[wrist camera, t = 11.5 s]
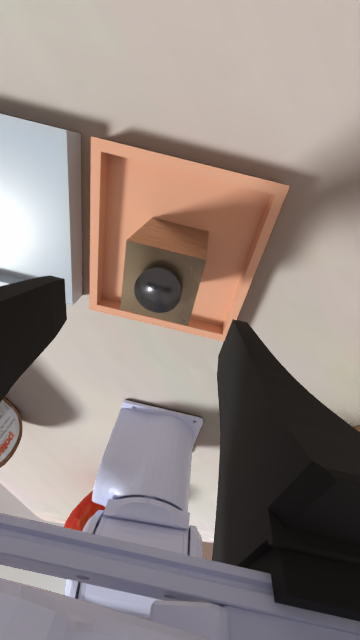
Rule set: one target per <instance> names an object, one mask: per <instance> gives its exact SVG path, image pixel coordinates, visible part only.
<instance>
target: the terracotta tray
mask: <svg viewBox="0 0 360 640" xmlns="http://www.w3.org/2000/svg"><path fill="white" fill-rule="evenodd" d="M289 187H290V186H288V185H285V184H282V183H278V182H274V181H270V180H266V179H262V178H257V177H253V176H249V175H245V174H241V173H237V172H233V171H229V170H225V169H221V168H217V167H213V166H209V165H205V164H201V163H197V162H193V161H189V160H185V159H181V158H177V157H173V156H169V155H165V154H161V153H157V152H153V151H149V150H145V149H141V148H137V147H133V146H129V145H125V144H121V143H117V142H113V141H109V140H105V139H101V138H96V137H92V136H91V177H90V301H89V309H91V310H95V311H99V312H103V313H107V314H111V315H116V316H120V317H124V318H128V319H132V320H137V321H141V322H145V323H149V324H153V325H158V326H162V327H166V328H170V329H174V330H179V331H183V332H187V333H191V334H195V335H200V336H204V337H208V338H212V339H216V340H220V341H225V338H226V335H227V333H228V330H229V328H230V325H231V323H232V320H233V319H234V320H237V317H238V315H239V312H240V310H241V307H242V305H243V302H244V300H245V297H246V295H247V292H248V290H249V287H250V285H251V282H252V280H253V277H254V275H255V272H256V270H257V267H258V265H259V262H260V260H261V257H262V255H263V252H264V250H265V247H266V245H267V242H268V240H269V237H270V235H271V232H272V230H273V227H274V225H275V222H276V220H277V217H278V215H279V212H280V210H281V207H282V205H283V202H284V200H285V197H286V195H287V192H288V190H289ZM152 217H153V218H157V219H161V220H165V221H169V222H173V223H177V224H181V225H185V226H189V227H193V228H197V229H201V230H205V231H209V234H208V248H207V260H206V264H205V268H204V271H203V275H202V278H201V282H200V285H199V289H198V292H197V296H196V300H195V303H194V307H193V310H192V314H191V317H190V321H189V324H188V326H186V325H182V324H178V323H174V322H170V321H166V320H162V319H158V318H154V317H149V316H145V315H141V314H137V313H133V312H129V311H125V310H121V309H120V305H121V294H122V283H123V272H124V262H125V251H126V240H127V239H128V238H130V237H131V236H132V235H133V234H134V233H135V232H136V231H137V230H138V229H140V228H141V227H142V226H143V225H144V224H145V223H146V222H147V221H149V220H150V219H151V218H152Z"/></svg>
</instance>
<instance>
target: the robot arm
mask: <svg viewBox="0 0 360 640" xmlns="http://www.w3.org/2000/svg"><path fill="white" fill-rule="evenodd" d="M66 320H67V316H66V296H65V279H63V278H59V277H55V276H51V275H50V276H42V277H37V278H33V279H28V280H24V281H20V282H16V283H12V284H8V285H4V286H0V402H1V401H2V399H3V398H4V397H5V395H6V394H7V393H8V391H9V390H10V388H11V387H12V386H13V384H14V383H15V382H16V381H17V380H18V378H19V377H20V376H21V375H22V374H23V373H24V372H25V370H26V369H27V368H28V367H29V366H30V365H31V364H32V363H33V362H34V360H35V359H36V358H37V357H38V356H39V355H40V354H41V353H42V352H43V351H44V349H45V348H46V347H47V346H48V345H49V344H50V343H51V341H52V340H53V339H54V338H55V337H56V335H57V334H58V332H59V331H60V329H61V328H62V326H63V325H64V323H65V321H66ZM217 381H218V397H219V411H220V431H221V436H220V462H219V481H218V496H217V510H216V522H215V534H214V545H213V556H212V560H207V559H203V558H202V538H201V535H200V534H199V532H198V531H197V528H196V526H192V525H190V526H189V515H190V513H189V512H188V500H189V487H190V473H191V460H192V448H193V445H194V443H195V441H196V438H197V436H198V434H199V431H200V429H201V427H202V424H203V419H202V418H200V417H196V416H192V415H188V414H183V413H179V412H175V411H171V410H166V409H162V408H158V407H153V406H149V405H145V404H141V403H136V402H132V401H128V400H124V401H123V402H122V406H121V410H120V413H119V415H118V418H117V421H116V423H115V426H114V428H113V430H112V433H111V436H110V439H109V442H108V444H107V447H106V450H105V452H104V455H103V458H102V461H101V464H100V467H99V470H98V474H97V477H96V481H95V484H94V489H93V494H92V501H93V502H94V503H97V504H100V505H103V506H105V510H104V511H103V510H98V511H97V512H96V513H95V514H94V515H93V516H92V517H91V518H90V519H89V520H88V521H87V523H86V525H85V526H84V528H83V531H78V530H74V529H69V528H65V527H60V526H56V525H51V524H47V523H43V522H38V521H34V520H29V519H25V518H20V517H16V516H11V515H7V514H2V513H0V564H1V565H5V566H10V567H14V568H19V569H23V570H28V571H33V572H37V573H42V574H46V575H51V576H55V577H60V578H64V579H67V581H66V588H65V595H61V594H58V593H54V592H51V591H47V590H44V589H40V588H37V587H33V586H29V585H25V584H21V583H17V582H13V581H9V580H5V579H1V578H0V640H360V432H359V431H358V430H356V429H355V428H353V427H352V426H351V425H349V424H348V423H347V422H345V421H344V420H343V419H341V418H340V417H339V416H337V415H336V414H335V413H333V412H332V411H331V410H330V409H328V408H327V407H326V406H325V405H324V404H322V403H321V402H320V401H319V400H317V399H316V398H315V397H314V396H313V395H312V394H311V393H309V392H308V391H307V390H306V389H305V388H304V387H303V386H302V385H301V384H300V383H299V382H298V381H297V380H296V379H295V378H294V377H293V376H292V375H291V374H290V373H289V372H288V371H287V370H286V369H285V368H284V367H283V366H282V365H281V364H280V363H279V361H278V360H277V359H276V358H275V357H274V356H273V354H272V353H271V352H270V351H269V350H268V348H267V347H266V346H265V345H264V343H263V342H262V341H261V340H260V338H259V337H258V336H257V334H256V333H255V332H254V331H253V329H252V328H251V327H250V326H249V324H248V323H246V322H242V321H238V320H234V319H233V320H232V323H231V325H230V328H229V330H228V333H227V335H226V338H225V341H224V343H223V346H222V348H221V351H220V353H219V357H218V371H217ZM188 530H189V531H188Z"/></svg>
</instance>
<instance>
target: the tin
mask: <svg viewBox="0 0 360 640" xmlns="http://www.w3.org/2000/svg"><path fill="white" fill-rule="evenodd" d="M21 437H22V420H21V417H20V414H19V412H18V410H17V409H16V408H15V407H14V406H13V405H12V404H11V403H10V402H9V401H8V400H7V399H6V398H5V397H4V398H3V399H2V401H1V402H0V467H2V466H3V465H5V464H6V463H7V462H8V460H9V459H10V458H11V457H12V455H13V454H14V452H15V451H16V449H17V447H18V445H19V443H20V440H21Z"/></svg>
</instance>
